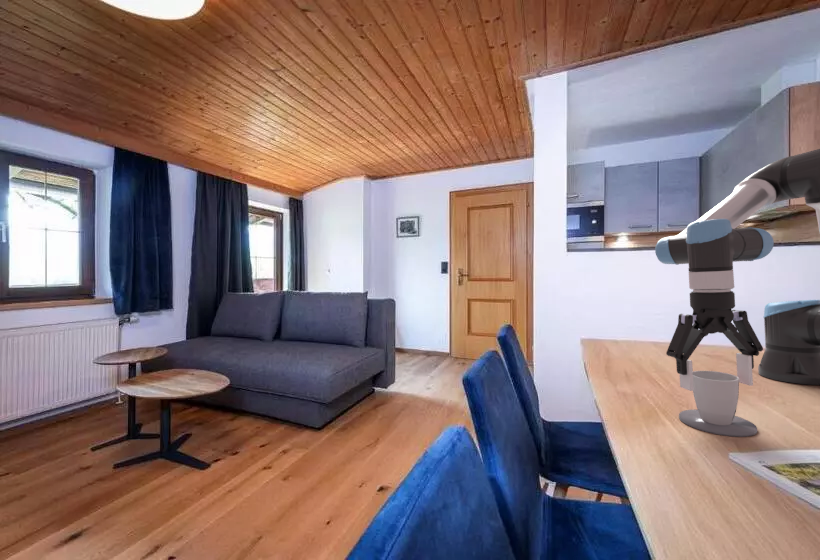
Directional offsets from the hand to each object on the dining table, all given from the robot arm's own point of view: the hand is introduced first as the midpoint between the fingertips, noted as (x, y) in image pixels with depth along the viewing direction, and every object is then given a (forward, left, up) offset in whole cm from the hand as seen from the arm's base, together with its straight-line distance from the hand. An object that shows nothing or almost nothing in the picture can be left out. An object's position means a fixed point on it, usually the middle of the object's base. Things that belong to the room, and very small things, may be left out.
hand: (716, 386), depth 78 cm
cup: (0, 0, -8) cm, 8 cm away
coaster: (0, 0, -8) cm, 8 cm away
